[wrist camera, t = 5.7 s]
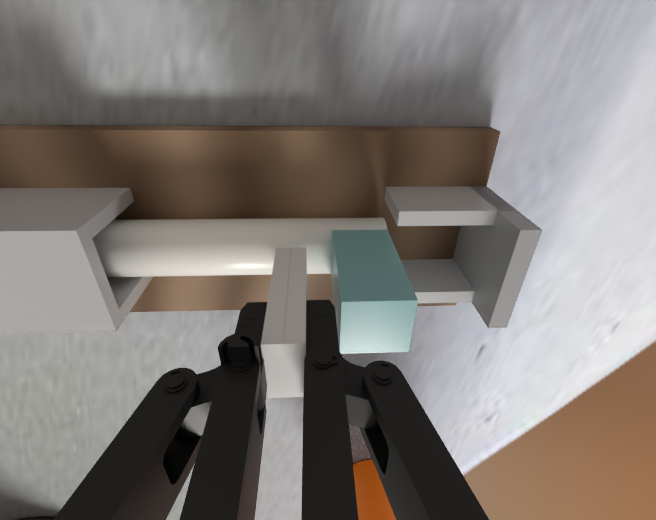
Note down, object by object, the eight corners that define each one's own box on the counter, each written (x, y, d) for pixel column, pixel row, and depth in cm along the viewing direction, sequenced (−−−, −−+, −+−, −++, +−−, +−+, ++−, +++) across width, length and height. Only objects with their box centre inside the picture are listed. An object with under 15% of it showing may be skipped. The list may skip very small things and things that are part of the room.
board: (35, 303, 25) (23, 314, 24) (-60, 124, 19) (-81, 129, 18) (450, 295, 26) (455, 305, 25) (490, 127, 20) (500, 131, 19)
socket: (377, 270, 23) (395, 330, 19) (385, 186, 20) (410, 231, 16) (465, 269, 24) (506, 327, 19) (486, 186, 21) (542, 229, 16)
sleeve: (10, 276, 22) (-68, 335, 18) (-38, 188, 19) (-146, 232, 15) (155, 273, 23) (116, 331, 18) (130, 187, 20) (76, 230, 15)
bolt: (61, 259, 22) (-65, 368, 14) (40, 211, 20) (-115, 306, 13) (375, 255, 23) (408, 355, 15) (379, 208, 21) (419, 296, 14)
